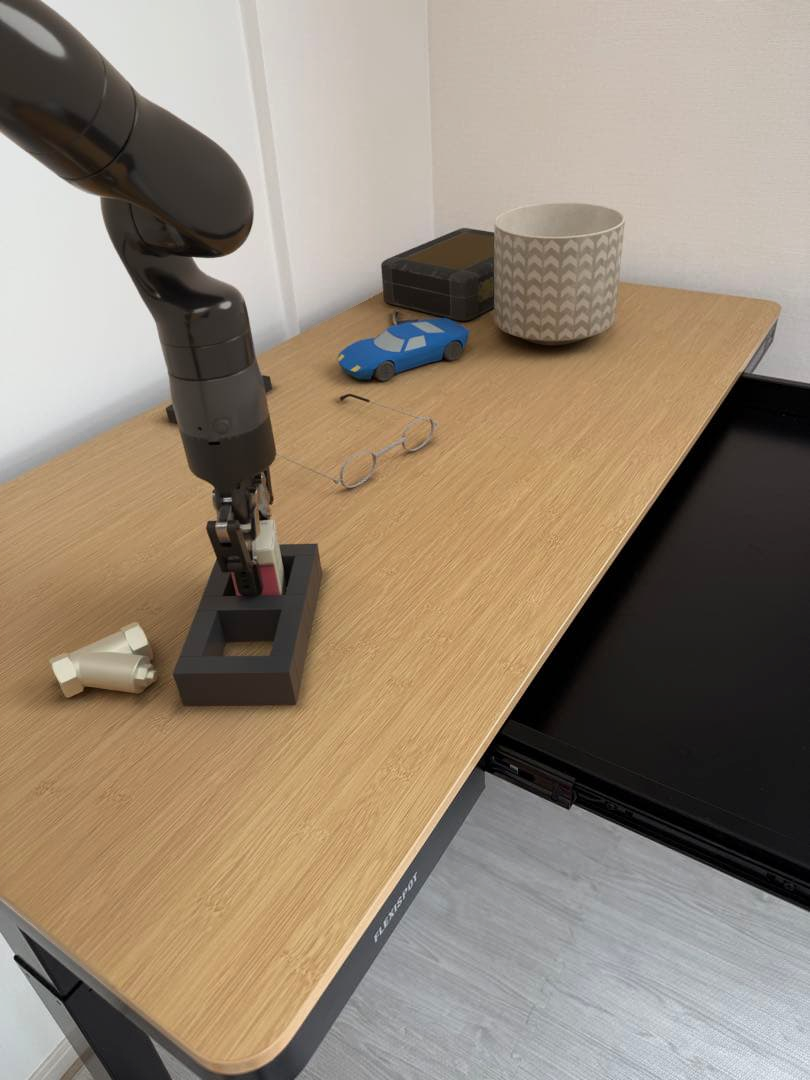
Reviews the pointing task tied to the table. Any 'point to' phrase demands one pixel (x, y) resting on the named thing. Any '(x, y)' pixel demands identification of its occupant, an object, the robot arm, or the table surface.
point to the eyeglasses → (379, 451)
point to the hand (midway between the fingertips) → (257, 572)
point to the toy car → (404, 348)
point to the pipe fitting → (108, 664)
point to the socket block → (251, 637)
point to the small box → (268, 560)
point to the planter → (557, 271)
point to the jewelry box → (444, 275)
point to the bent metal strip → (401, 320)
